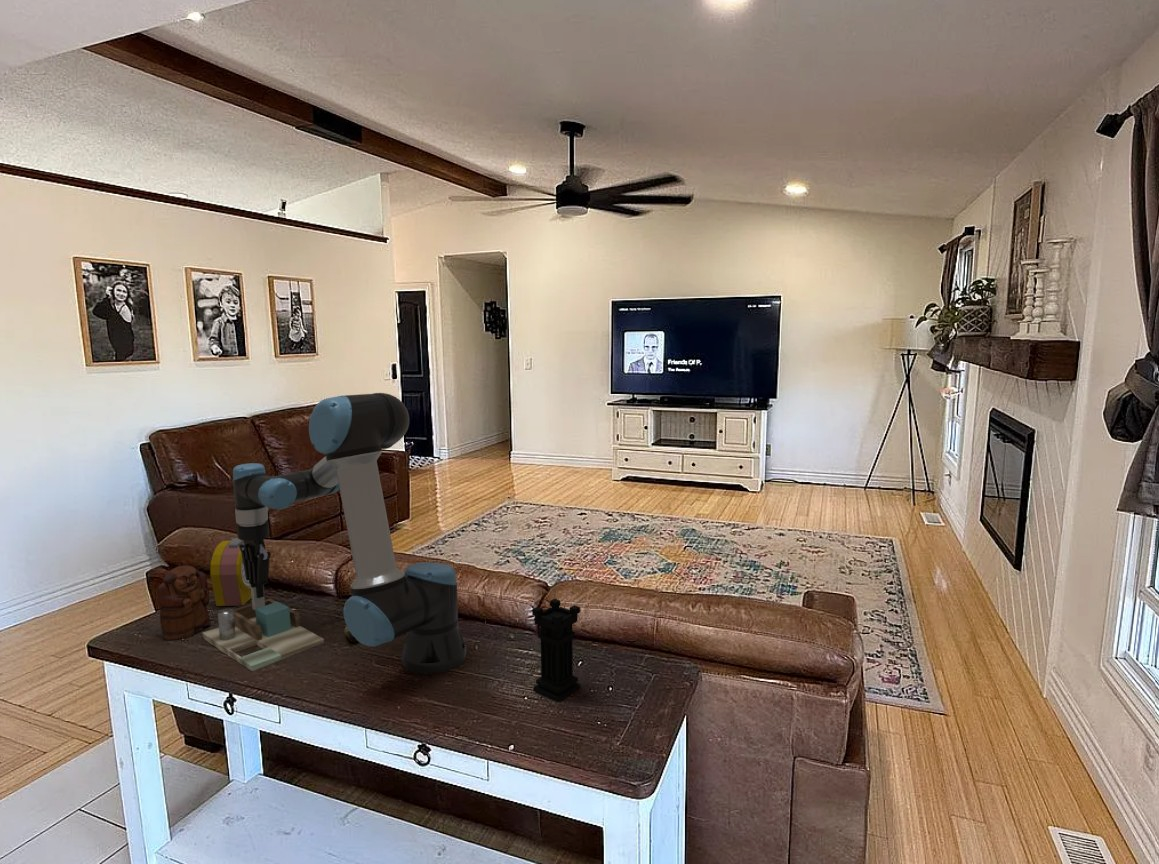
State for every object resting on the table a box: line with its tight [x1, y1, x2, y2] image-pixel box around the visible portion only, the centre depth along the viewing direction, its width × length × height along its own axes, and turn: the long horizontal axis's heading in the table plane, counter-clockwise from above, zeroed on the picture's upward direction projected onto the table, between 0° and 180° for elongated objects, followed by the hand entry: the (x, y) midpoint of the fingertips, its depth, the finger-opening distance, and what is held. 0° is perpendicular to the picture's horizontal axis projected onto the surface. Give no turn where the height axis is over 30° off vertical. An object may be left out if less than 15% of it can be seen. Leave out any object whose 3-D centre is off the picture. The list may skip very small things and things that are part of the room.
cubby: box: [233, 598, 301, 641], centre depth 175 cm, size 16×11×4 cm
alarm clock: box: [210, 537, 252, 607], centre depth 196 cm, size 15×8×18 cm, turn 2°
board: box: [201, 617, 325, 672], centre depth 169 cm, size 28×18×2 cm, turn 51°
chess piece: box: [531, 598, 582, 703], centre depth 141 cm, size 8×8×20 cm
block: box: [255, 601, 291, 637], centre depth 171 cm, size 6×6×6 cm
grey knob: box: [216, 608, 236, 641], centre depth 167 cm, size 4×4×7 cm
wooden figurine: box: [157, 565, 212, 641], centre depth 173 cm, size 12×6×18 cm, turn 160°
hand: (258, 607), depth 176 cm, fingers closed
